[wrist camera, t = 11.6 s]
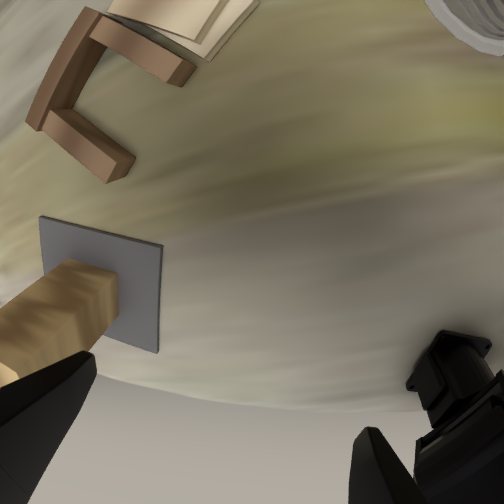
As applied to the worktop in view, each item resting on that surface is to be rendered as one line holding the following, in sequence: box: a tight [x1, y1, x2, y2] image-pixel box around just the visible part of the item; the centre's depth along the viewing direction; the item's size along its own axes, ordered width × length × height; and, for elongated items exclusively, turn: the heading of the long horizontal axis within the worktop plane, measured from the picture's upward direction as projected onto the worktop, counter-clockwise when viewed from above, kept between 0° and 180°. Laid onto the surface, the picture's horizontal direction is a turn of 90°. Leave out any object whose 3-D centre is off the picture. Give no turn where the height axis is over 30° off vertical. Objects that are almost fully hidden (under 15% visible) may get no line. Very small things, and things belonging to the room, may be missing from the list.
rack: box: [25, 0, 259, 184], centre depth 15 cm, size 9×15×3 cm, turn 143°
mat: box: [39, 216, 163, 354], centre depth 24 cm, size 12×10×1 cm
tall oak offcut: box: [0, 258, 119, 388], centre depth 18 cm, size 5×4×12 cm
